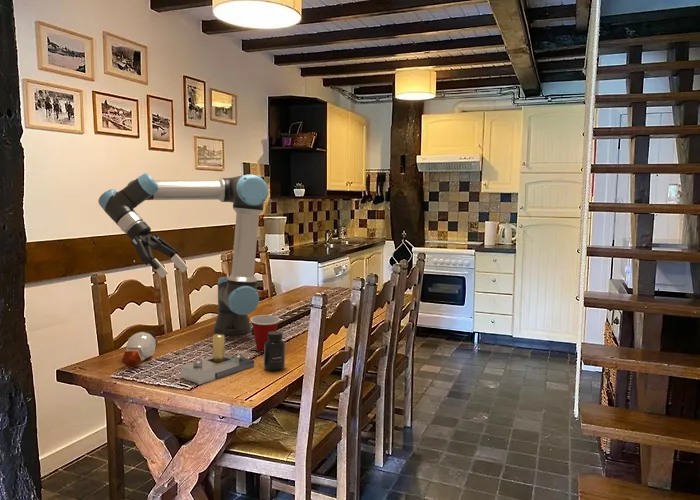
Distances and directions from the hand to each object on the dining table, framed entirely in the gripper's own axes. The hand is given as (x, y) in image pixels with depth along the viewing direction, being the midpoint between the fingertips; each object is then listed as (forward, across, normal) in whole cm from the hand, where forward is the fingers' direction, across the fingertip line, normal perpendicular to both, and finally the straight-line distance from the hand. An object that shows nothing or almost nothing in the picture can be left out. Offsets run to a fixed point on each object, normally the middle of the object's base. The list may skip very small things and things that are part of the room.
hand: (175, 272), depth 175 cm
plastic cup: (+40, -14, -2) cm, 43 cm away
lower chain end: (+37, +9, -5) cm, 38 cm away
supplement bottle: (+47, +4, +5) cm, 48 cm away
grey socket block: (+35, +15, -7) cm, 38 cm away
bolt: (+9, -11, -34) cm, 37 cm away
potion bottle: (+15, +8, -28) cm, 32 cm away
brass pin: (+36, +12, -6) cm, 38 cm away
